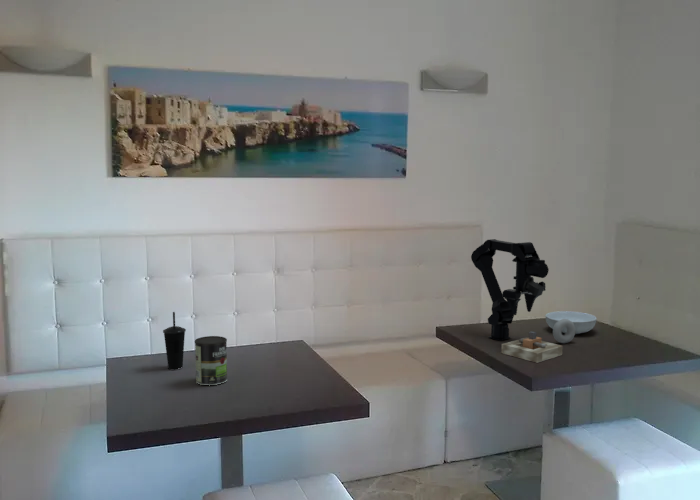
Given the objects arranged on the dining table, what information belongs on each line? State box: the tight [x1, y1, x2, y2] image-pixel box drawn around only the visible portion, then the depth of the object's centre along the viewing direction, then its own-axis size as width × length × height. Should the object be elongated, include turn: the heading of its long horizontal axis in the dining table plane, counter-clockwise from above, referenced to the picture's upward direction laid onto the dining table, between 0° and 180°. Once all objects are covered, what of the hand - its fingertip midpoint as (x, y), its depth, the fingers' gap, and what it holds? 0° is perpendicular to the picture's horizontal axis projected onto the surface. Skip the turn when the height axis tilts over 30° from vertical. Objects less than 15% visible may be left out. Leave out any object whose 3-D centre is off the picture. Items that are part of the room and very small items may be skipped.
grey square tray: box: [500, 336, 564, 364], centre depth 250 cm, size 16×16×5 cm
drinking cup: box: [162, 311, 187, 370], centre depth 231 cm, size 8×8×20 cm
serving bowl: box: [544, 310, 597, 335], centre depth 284 cm, size 21×21×7 cm
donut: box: [552, 319, 576, 344], centre depth 265 cm, size 10×4×10 cm, turn 108°
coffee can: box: [194, 335, 228, 387], centre depth 217 cm, size 10×10×14 cm
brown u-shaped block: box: [522, 330, 543, 349], centre depth 249 cm, size 3×8×7 cm, turn 130°
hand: (522, 313), depth 261 cm, fingers open, 9 cm apart
